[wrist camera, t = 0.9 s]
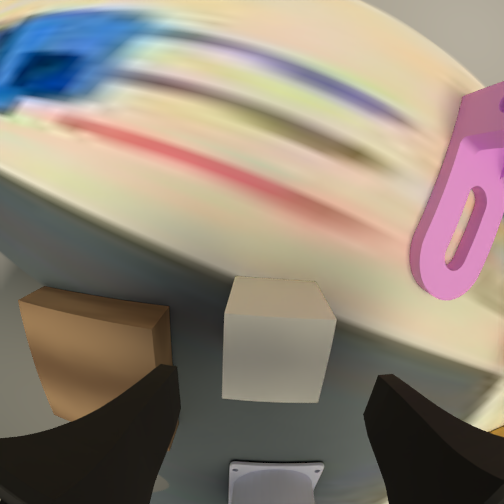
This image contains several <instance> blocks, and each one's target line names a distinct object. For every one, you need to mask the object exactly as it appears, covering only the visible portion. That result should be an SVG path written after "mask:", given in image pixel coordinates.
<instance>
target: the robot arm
mask: <svg viewBox="0 0 504 504" xmlns="http://www.w3.org/2000/svg"><path fill="white" fill-rule="evenodd" d="M180 409H181V405H180V395H179V384H178V372H177V366H171V365H165V364H160V365H158V366H157V367H156V368H154V369H153V370H152V371H151V372H149V373H148V374H147V375H146V376H144V377H143V378H142V379H141V380H139V381H138V382H137V383H135V384H134V385H133V386H131V387H130V388H129V389H127V390H126V391H125V392H123V393H122V394H121V395H119V396H118V397H116V398H115V399H113V400H112V401H110V402H108V403H107V404H105V405H104V406H102V407H100V408H99V409H97V410H95V411H93V412H91V413H89V414H87V415H85V416H83V417H81V418H79V419H77V420H74V421H72V422H69V423H67V424H64V425H61V426H58V427H56V428H53V429H50V430H46V431H42V432H39V433H34V434H30V435H25V436H18V437H9V438H0V499H1V501H0V504H149V503H150V499H151V495H152V491H153V487H154V483H155V480H156V478H157V475H158V472H159V470H160V467H161V465H162V462H163V460H164V457H165V455H166V452H167V450H168V447H169V445H170V442H171V440H172V437H173V435H174V432H175V429H176V425H177V421H178V417H179V413H180ZM363 415H364V420H365V425H366V430H367V434H368V438H369V441H370V443H371V446H372V449H373V452H374V454H375V457H376V460H377V463H378V465H379V468H380V471H381V474H382V476H383V479H384V483H385V486H386V490H387V496H388V501H389V504H504V437H502V436H498V435H495V434H492V433H489V432H486V431H483V430H481V429H478V428H476V427H474V426H472V425H470V424H468V423H466V422H464V421H462V420H460V419H458V418H456V417H454V416H453V415H451V414H449V413H448V412H446V411H445V410H443V409H441V408H440V407H438V406H437V405H435V404H434V403H432V402H431V401H430V400H428V399H427V398H425V397H424V396H423V395H421V394H420V393H418V392H417V391H416V390H414V389H413V388H412V387H410V386H409V385H408V384H406V383H405V382H403V381H402V380H401V379H399V378H398V377H396V376H395V375H393V374H387V375H378V377H377V380H376V383H375V385H374V388H373V391H372V394H371V396H370V399H369V401H368V404H367V407H366V409H365V412H364V414H363ZM323 469H324V464H323V463H320V462H318V463H253V462H239V461H233V462H231V463H230V468H229V499H228V504H315V500H314V493H313V490H314V488H315V486H316V484H317V482H318V480H319V478H320V475H321V473H322V471H323Z"/></svg>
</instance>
